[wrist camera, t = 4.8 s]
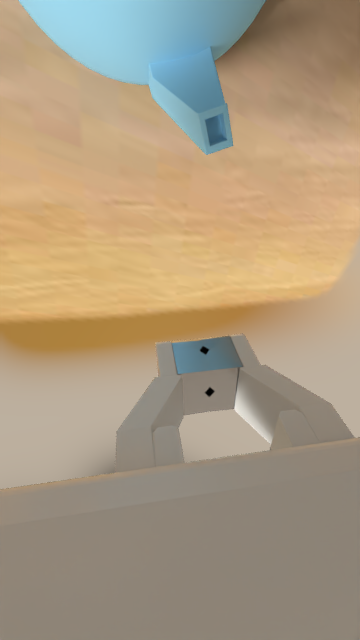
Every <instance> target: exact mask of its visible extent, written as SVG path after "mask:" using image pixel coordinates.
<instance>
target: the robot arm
mask: <svg viewBox="0 0 360 640" xmlns="http://www.w3.org/2000/svg"><path fill="white" fill-rule="evenodd" d="M156 357H157V369H158V377H155V378H154V379H153V381H152V382H151V384H150V385H149V386H148V388H147V389H146V391H145V392H144V394H143V395H142V396H141V398H140V399H139V401H138V402H137V404H136V405H135V406H134V408H133V409H132V411H131V412H130V414H129V415H128V416H127V418H126V419H125V420H124V422H123V423H122V425H121V426H120V427H119V429H118V430H117V436H116V437H117V438H116V460H115V473H109V474H103V475H96V476H89V477H82V478H75V479H68V480H61V481H54V482H47V483H41V484H34V485H27V486H20V487H13V488H6V489H0V640H360V437H358V438H355V437H354V436H353V435H352V433H351V432H350V431H349V429H348V427H347V426H346V424H345V423H344V422H343V420H342V419H341V417H340V416H339V414H338V413H337V411H336V410H335V409H334V407H333V406H332V404H331V403H329V402H327V401H326V400H324V399H322V398H320V397H319V396H317V395H315V394H314V393H312V392H310V391H309V390H307V389H305V388H304V387H302V386H300V385H298V384H297V383H295V382H293V381H291V380H290V379H288V378H287V377H285V376H283V375H282V374H280V373H278V372H277V371H274V370H273V369H271V368H270V367H268V366H266V365H261V364H260V362H259V361H258V359H257V357H256V355H255V353H254V351H253V349H252V348H251V346H250V344H249V342H248V340H247V338H246V336H245V335H244V334H236V335H228V336H222V337H212V338H203V339H190V340H178V341H171V342H170V341H167V342H156ZM228 409H234V410H235V411H236V412H237V413H238V414H239V415H240V416H241V417H242V418H243V419H244V420H245V421H246V422H247V423H248V424H250V425H251V426H252V427H253V428H254V429H255V430H256V431H257V432H258V433H259V434H260V435H261V436H262V437H263V438H265V439H266V440H267V441H268V442H269V443H270V444H271V447H270V450H269V451H262V452H255V453H248V454H241V455H234V456H227V457H220V458H213V459H206V460H199V461H193V462H186V463H185V462H184V457H183V451H182V445H181V439H180V433H179V429H178V428H179V426H180V423H181V421H182V419H183V415H189V414H195V413H202V412H207V411H218V410H228Z"/></svg>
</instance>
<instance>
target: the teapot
mask: <svg viewBox="0 0 360 640" xmlns="http://www.w3.org/2000/svg"><path fill="white" fill-rule="evenodd" d="M18 1H19V2H20V3H21V5H22V6H23V7H24V8H25V10H26V11H27V12H28V13H29V15H30V16H31V17H32V19H33V20H34V21H35V22H36V24H37V25H38V26H39V27H40V28H41V29H42V30H43V31H44V32H45V33H46V34H47V35H48V37H49V38H50V39H51V40H52V41H53V42H54V43H55V44H56V45H58V46H59V47H60V48H61V49H62V50H64V51H65V52H66V53H67V54H68V55H70V56H71V57H72V58H74V59H75V60H77V61H78V62H80V63H81V64H83V65H84V66H86V67H87V68H89V69H91V70H93V71H95V72H97V73H99V74H101V75H103V76H105V77H108V78H111V79H115V80H118V81H121V82H125V83H131V84H138V85H149V88H150V91H151V94H152V98H153V99H154V100H155V101H156V102H157V104H158V105H159V106H160V107H161V108H162V109H163V110H164V111H165V112H166V113H167V114H168V115H169V116H170V117H171V118H172V119H173V120H174V121H175V123H176V124H177V125H178V126H179V127H180V128H181V129H182V130H183V131H184V132H185V133H186V134H187V135H188V136H189V137H190V138H191V139H192V141H193V142H194V143H195V144H196V145H197V146H198V147H199V148H200V149H201V150H202V151H203V152H204V153H205V154H206V155H208V154H211V153H214V152H216V151H219V150H222V149H225V148H228V147H231V146H233V140H232V133H231V127H230V120H229V113H228V107H227V103H225V101H224V97H223V93H222V89H221V85H220V82H219V78H218V74H217V70H216V66H215V62H214V61H215V60H217V59H218V58H219V57H221V56H222V55H223V54H224V53H226V52H227V51H228V50H229V49H230V48H231V47H232V46H233V45H234V44H235V43H236V42H237V41H238V40H239V39H240V37H241V36H242V35H243V34H244V32H245V31H246V30H247V28H248V27H249V26H250V25H251V23H252V22H253V21H254V19H255V17H256V16H257V14H258V13H259V11H260V9H261V8H262V6H263V5H264V3H265V1H266V0H18Z"/></svg>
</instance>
